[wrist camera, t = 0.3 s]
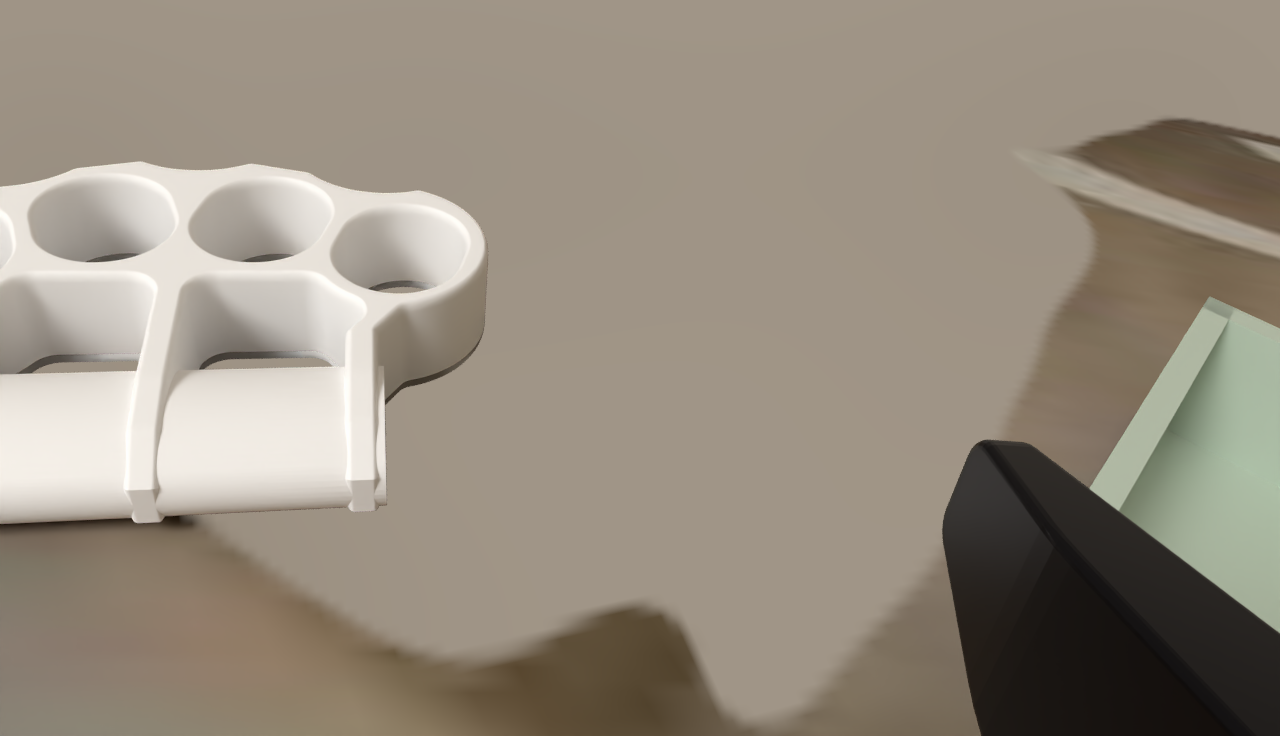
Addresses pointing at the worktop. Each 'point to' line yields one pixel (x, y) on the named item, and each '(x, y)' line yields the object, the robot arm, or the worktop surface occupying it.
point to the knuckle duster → (218, 337)
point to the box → (1210, 457)
